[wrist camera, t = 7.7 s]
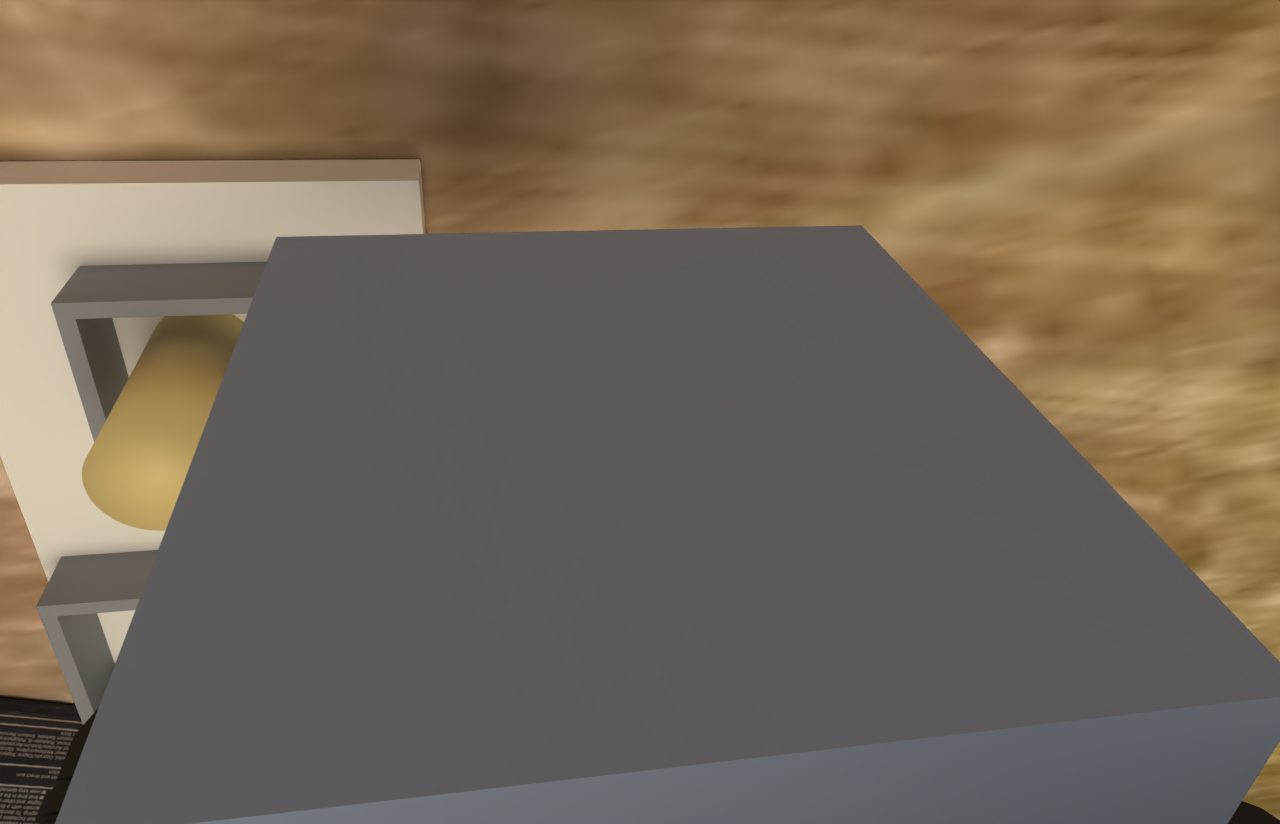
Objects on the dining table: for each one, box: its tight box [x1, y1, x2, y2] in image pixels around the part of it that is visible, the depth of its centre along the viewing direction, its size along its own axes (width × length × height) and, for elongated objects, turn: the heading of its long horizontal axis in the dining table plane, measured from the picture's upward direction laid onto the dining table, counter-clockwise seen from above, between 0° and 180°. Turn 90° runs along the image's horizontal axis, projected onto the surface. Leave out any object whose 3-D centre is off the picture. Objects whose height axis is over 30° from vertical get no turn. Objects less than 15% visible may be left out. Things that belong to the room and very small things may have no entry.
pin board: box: [0, 159, 426, 725], centre depth 31 cm, size 20×14×9 cm
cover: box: [55, 226, 1280, 824], centre depth 12 cm, size 8×8×9 cm
